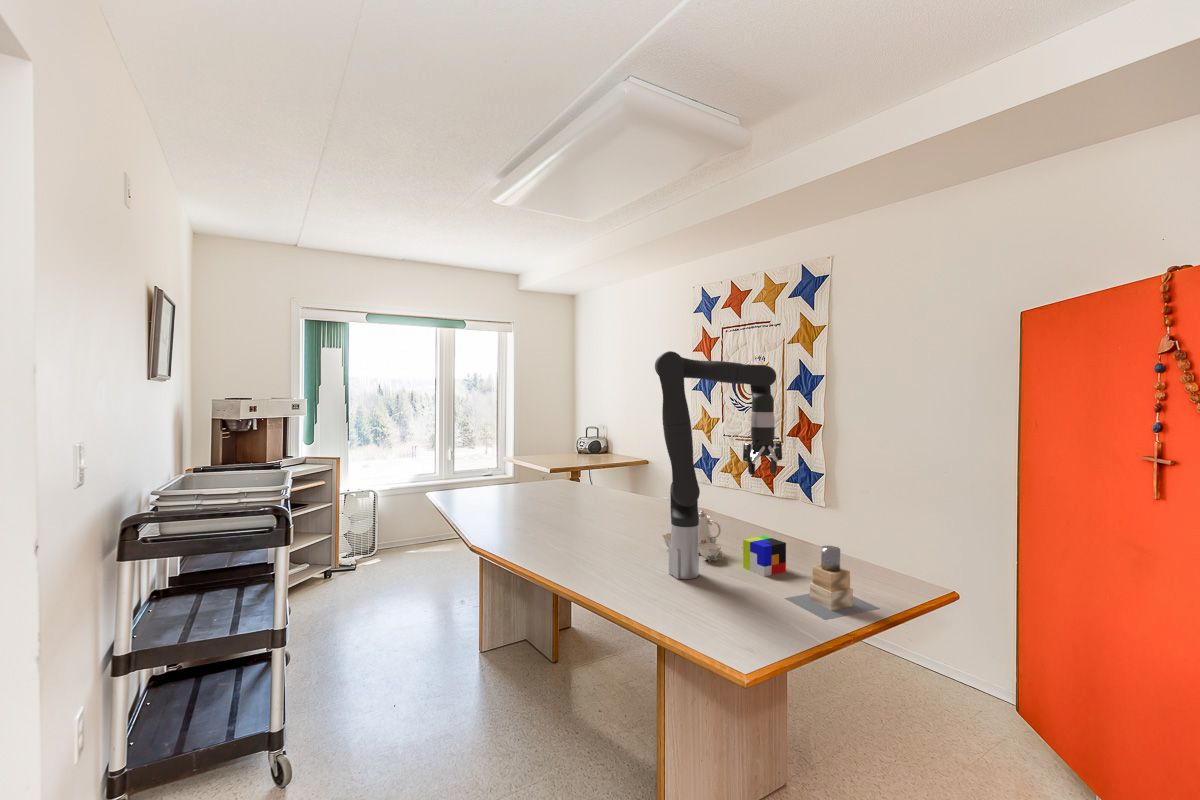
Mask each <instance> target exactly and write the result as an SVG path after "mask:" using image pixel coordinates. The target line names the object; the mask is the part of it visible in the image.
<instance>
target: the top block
mask: <svg viewBox="0 0 1200 800" xmlns="http://www.w3.org/2000/svg"><path fill="white" fill-rule="evenodd" d="M812 583H813V584H815V585H817V586H819V587H821V588H823V589H825V590H828V591H830V592H834V591H839V590H845V589H850V588H851V571H850V570H848V569H845V568H843V567H841V566H840V571H838V572H830V571H825V570H823V569H822V568H821V565H816V566H815V565H813V566H812Z"/></svg>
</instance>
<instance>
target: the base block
mask: <svg viewBox="0 0 1200 800" xmlns="http://www.w3.org/2000/svg"><path fill="white" fill-rule="evenodd" d="M853 591H854V589H853V588H852V587H850V589H845V590H839V591H834V592H830V591H828V590H825V589H823V588H821V587H819V586H817V585H815V584H813V582H810V583H809V594H810V600H811V601H813V602H815V603H817V604H819V605H821V606H823V607H825V608H827V609H829V610H831V611H832V610H837V609H842V608H847V607H851V606H853V596H854V594H853V593H854V592H853Z"/></svg>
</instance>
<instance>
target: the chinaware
mask: <svg viewBox="0 0 1200 800" xmlns="http://www.w3.org/2000/svg"><path fill="white" fill-rule="evenodd" d="M698 515H699V553H700V554H699V555H700V556H701V557H702V558H704V559H706V560H708V561H707V562H712V561H711V560H713V561H718V560H722V559H724V552H723V551H722V550H721V547H722V546H721V544H718V543H717V538H718V537H720V535H721V533H722V532H721V531H722V528H721V525H720V524H719V523H718V522H717V521H715V520H711V516H710V515H707V514H706V513H705V511H704V510H703V509H701V510H699V512H698ZM713 523H714V524H716V525H717V528H718V533H717V535H715V536H713V534H712V533H711V529H710V526H712V525H713ZM661 537H662V538H663V540H664V543H665V545H666V546H667V547H668V548H669V545H671V532H668V533H665V534H662V536H661ZM720 553H721V554H722V557H721V558H719V557H718V556H719V554H720ZM706 560H705V561H706Z"/></svg>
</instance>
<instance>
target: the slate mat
mask: <svg viewBox="0 0 1200 800" xmlns="http://www.w3.org/2000/svg"><path fill="white" fill-rule="evenodd" d="M784 599H785V600H787V601H789V602H790V603H792V604H794V605H795V606H798V607H800V608H802V609H803V610H805V611H807V612H809V613H811V614H813V615H815V616H817V617H818V618H821V619H822V620H825V621H828V620H832V619H837V618H841V617H848V616H851V615H855V614H861V613H865V612H870V611H876V610H880V609H881V607H878V606H876V605H873V604H871V603H869V602H867V601H865V600H863V599H861V598H858V597H855V596H854V595H853V606H851V607H847V608H842V609H837V610H832V611H831V610H829V609H827V608H825V607H823V606H821V605H819V604H817V603H815V602H813V601H811V600H810V593H806V594H800V595H793V596H789V597H784Z"/></svg>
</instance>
